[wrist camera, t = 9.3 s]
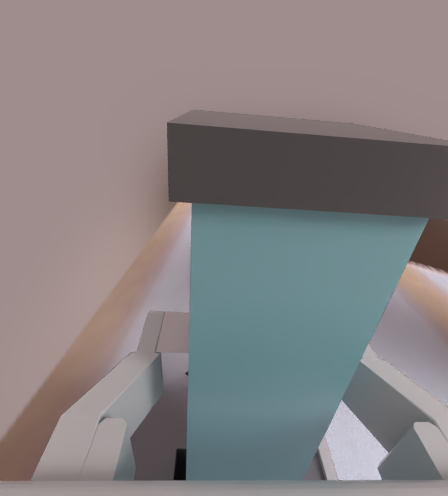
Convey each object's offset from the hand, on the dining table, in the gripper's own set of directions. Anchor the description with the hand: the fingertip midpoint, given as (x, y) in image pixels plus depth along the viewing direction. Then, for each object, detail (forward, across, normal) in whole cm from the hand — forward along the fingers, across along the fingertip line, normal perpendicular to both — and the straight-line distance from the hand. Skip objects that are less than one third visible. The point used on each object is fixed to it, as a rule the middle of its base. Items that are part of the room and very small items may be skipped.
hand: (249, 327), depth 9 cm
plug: (-1, 0, +11) cm, 11 cm away
